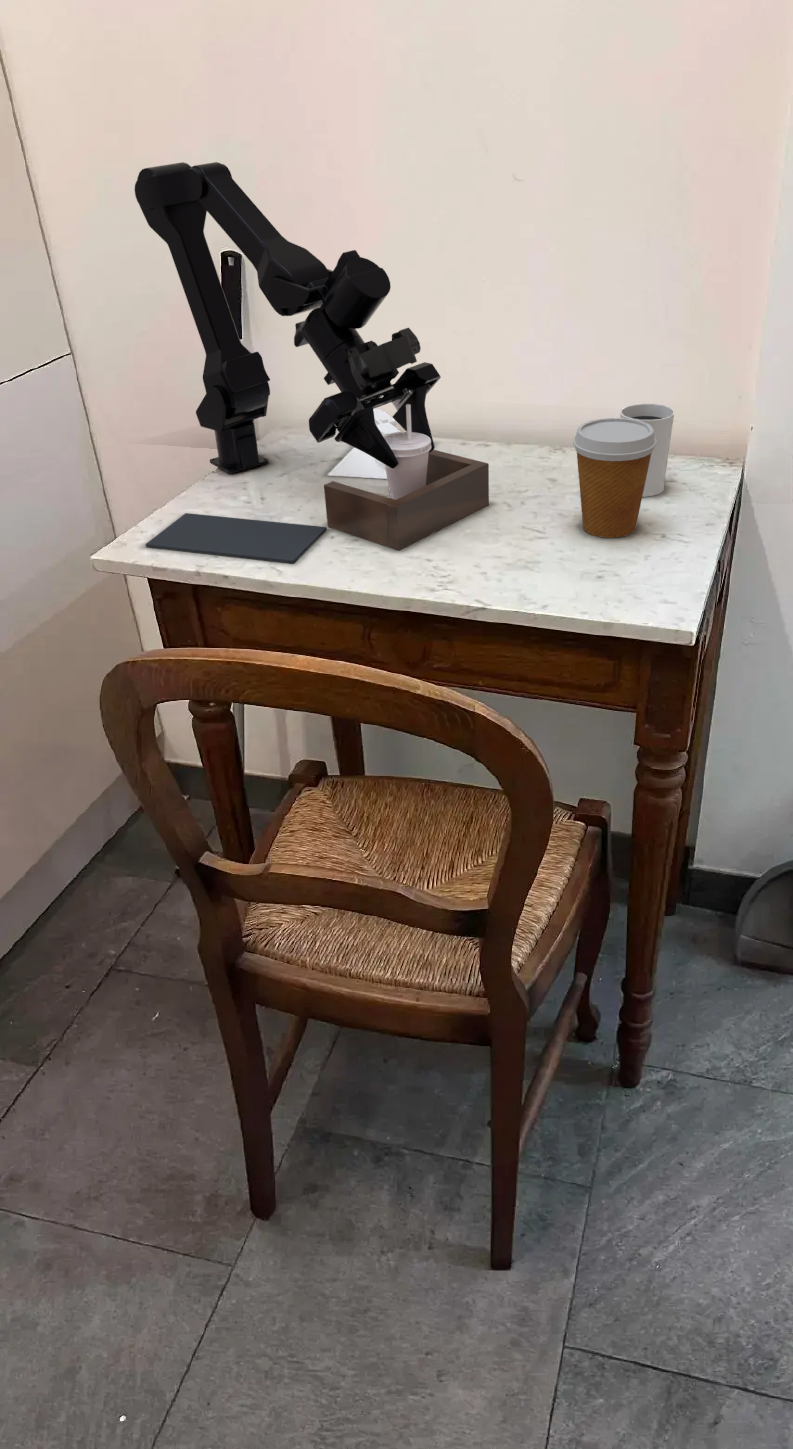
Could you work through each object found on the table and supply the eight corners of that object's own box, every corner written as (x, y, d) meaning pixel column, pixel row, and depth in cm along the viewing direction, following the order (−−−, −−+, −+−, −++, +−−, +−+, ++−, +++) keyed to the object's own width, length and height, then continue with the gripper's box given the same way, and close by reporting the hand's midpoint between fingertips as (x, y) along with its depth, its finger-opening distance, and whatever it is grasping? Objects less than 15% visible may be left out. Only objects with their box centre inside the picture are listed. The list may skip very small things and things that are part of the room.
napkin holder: (360, 439, 160) (357, 401, 157) (433, 443, 157) (431, 404, 154) (326, 475, 148) (322, 435, 145) (404, 480, 145) (402, 439, 142)
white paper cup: (646, 502, 134) (652, 424, 129) (604, 489, 138) (609, 413, 133) (678, 487, 138) (685, 410, 132) (636, 475, 142) (642, 400, 136)
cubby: (327, 526, 133) (323, 484, 130) (418, 484, 143) (416, 445, 140) (399, 550, 126) (396, 507, 123) (489, 504, 136) (488, 463, 133)
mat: (145, 547, 131) (145, 544, 131) (186, 515, 138) (185, 513, 138) (293, 563, 124) (293, 560, 124) (326, 530, 132) (326, 527, 132)
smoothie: (428, 526, 132) (425, 414, 124) (378, 524, 133) (371, 413, 125) (437, 506, 137) (434, 397, 129) (388, 504, 138) (383, 396, 130)
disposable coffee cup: (631, 549, 123) (639, 448, 116) (556, 535, 127) (559, 437, 121) (661, 519, 129) (670, 422, 123) (588, 507, 134) (593, 412, 127)
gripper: (316, 327, 118) (394, 443, 118) (426, 293, 129) (498, 400, 129) (276, 387, 127) (349, 495, 127) (382, 351, 138) (449, 450, 138)
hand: (414, 458), depth 130 cm, fingers closed on smoothie, 6 cm apart
